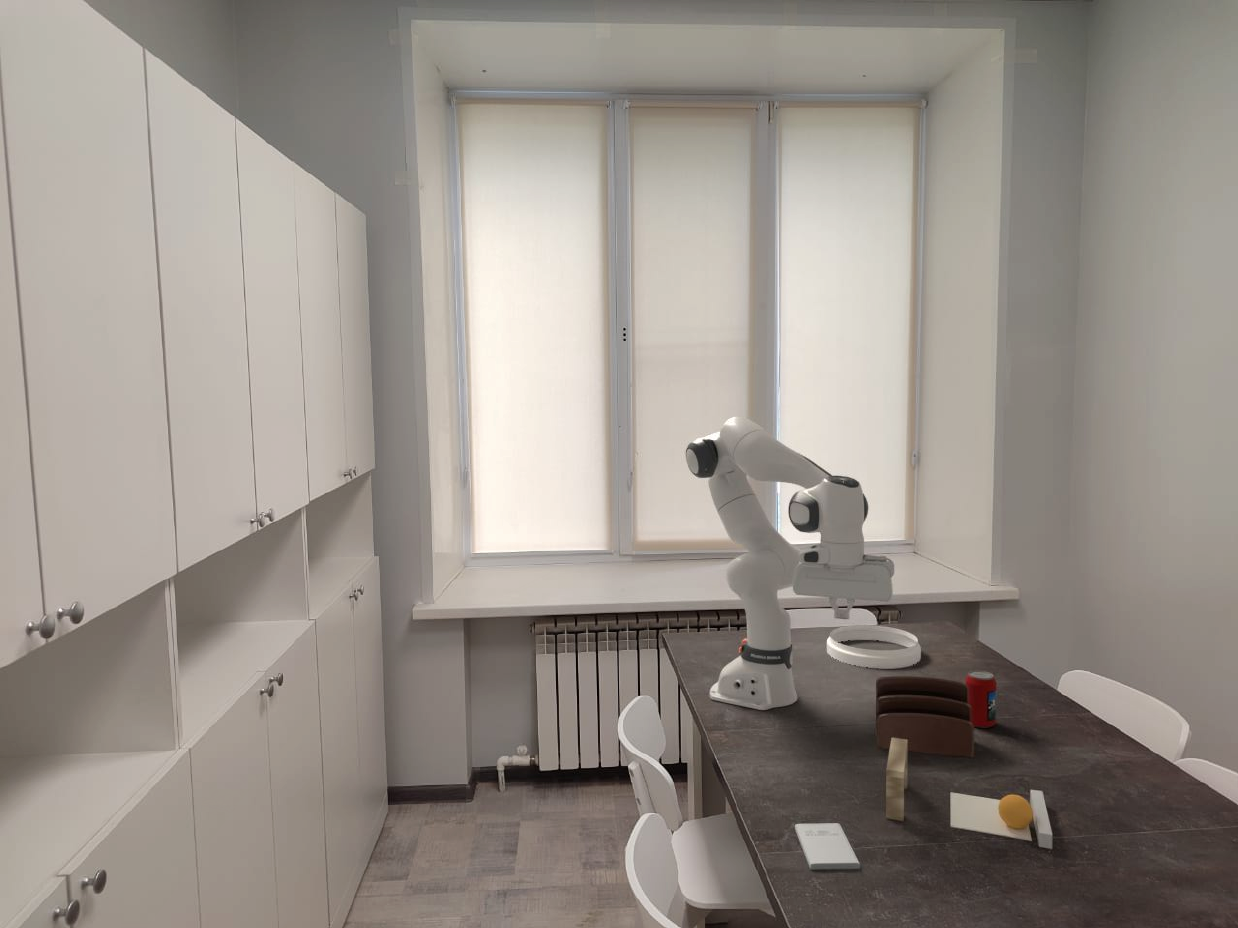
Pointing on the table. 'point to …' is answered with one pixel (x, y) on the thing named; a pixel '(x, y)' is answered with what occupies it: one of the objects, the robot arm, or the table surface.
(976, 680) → the beverage can
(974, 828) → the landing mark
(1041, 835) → the stopper
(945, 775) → the table surface
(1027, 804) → the ball
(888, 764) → the bridge
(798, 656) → the table surface
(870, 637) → the white ring
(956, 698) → the letter holder
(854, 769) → the table surface
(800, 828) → the external hard drive
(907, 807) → the table surface
